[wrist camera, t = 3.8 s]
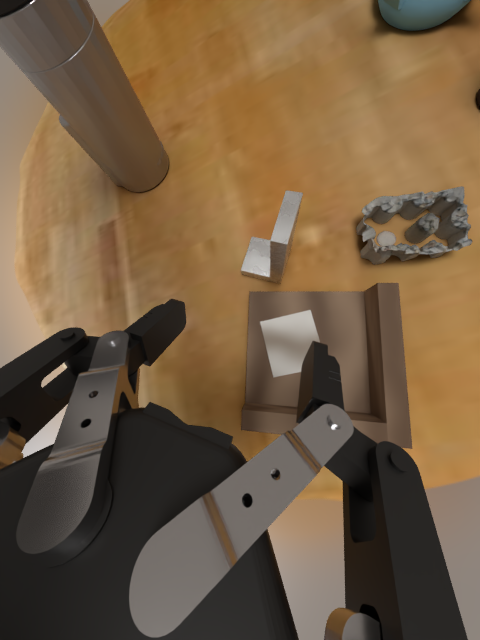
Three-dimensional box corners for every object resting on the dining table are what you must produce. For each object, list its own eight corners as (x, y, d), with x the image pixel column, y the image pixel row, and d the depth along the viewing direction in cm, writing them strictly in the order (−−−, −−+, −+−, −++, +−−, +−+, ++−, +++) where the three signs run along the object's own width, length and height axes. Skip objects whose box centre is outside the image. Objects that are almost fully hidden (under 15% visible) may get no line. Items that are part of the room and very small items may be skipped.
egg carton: (358, 268, 25) (374, 252, 21) (352, 216, 27) (366, 192, 23) (451, 261, 24) (487, 243, 20) (440, 207, 25) (472, 179, 21)
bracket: (242, 274, 27) (227, 232, 18) (252, 242, 28) (243, 184, 18) (280, 284, 26) (287, 244, 16) (290, 250, 27) (302, 193, 17)
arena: (245, 417, 24) (241, 429, 20) (250, 293, 27) (247, 283, 23) (386, 431, 22) (412, 448, 18) (377, 294, 24) (398, 282, 20)
